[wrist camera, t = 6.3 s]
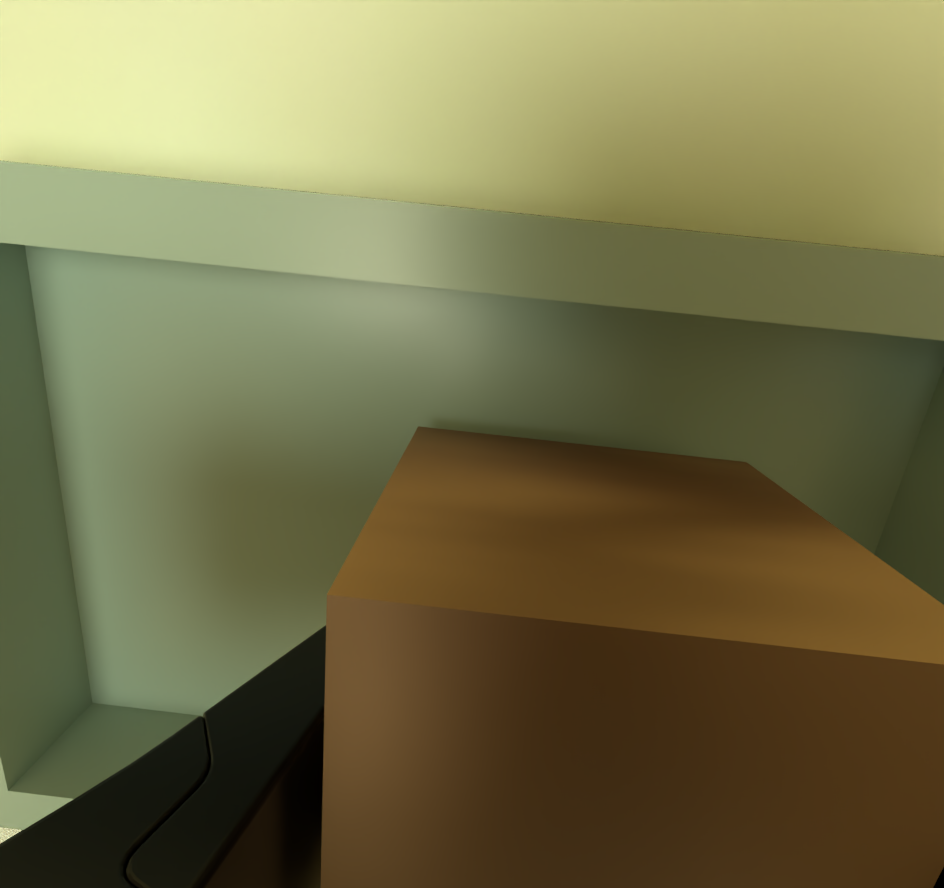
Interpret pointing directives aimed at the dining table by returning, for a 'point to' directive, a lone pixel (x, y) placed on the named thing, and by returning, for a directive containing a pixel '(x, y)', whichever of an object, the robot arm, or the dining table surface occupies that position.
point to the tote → (378, 413)
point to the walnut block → (623, 682)
